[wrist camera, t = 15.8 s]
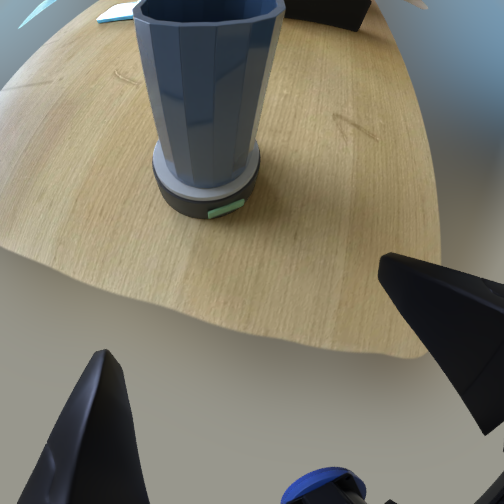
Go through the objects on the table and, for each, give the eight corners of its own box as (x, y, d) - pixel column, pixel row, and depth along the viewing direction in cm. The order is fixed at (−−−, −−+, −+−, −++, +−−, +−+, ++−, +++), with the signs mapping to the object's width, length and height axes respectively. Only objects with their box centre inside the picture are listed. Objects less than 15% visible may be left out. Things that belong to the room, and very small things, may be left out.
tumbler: (268, 154, 21) (314, 9, 8) (202, 206, 19) (191, 43, 7) (212, 108, 22) (218, -26, 9) (148, 151, 20) (109, 9, 7)
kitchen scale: (272, 199, 24) (281, 179, 20) (176, 236, 22) (169, 219, 19) (233, 126, 26) (236, 102, 22) (148, 154, 24) (140, 130, 20)
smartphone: (115, 4, 32) (181, -1, 32) (116, 8, 33) (181, 4, 33) (94, 20, 30) (162, 13, 30) (96, 25, 31) (163, 18, 31)
